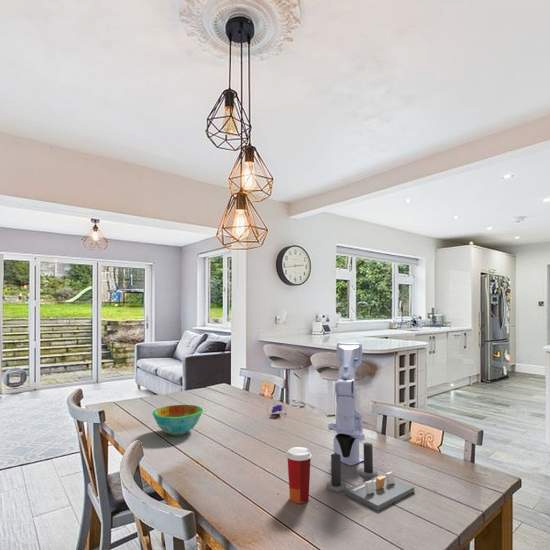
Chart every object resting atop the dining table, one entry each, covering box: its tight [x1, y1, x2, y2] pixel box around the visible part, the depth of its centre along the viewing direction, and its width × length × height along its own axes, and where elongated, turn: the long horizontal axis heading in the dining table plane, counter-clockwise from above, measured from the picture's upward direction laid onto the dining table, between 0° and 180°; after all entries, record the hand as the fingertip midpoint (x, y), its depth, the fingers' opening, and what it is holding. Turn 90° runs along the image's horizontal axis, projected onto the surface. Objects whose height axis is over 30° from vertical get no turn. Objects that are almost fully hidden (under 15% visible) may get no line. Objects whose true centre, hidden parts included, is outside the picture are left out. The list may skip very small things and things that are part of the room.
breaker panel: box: [345, 473, 415, 512], centre depth 120 cm, size 12×18×2 cm, turn 128°
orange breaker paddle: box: [375, 476, 385, 489], centre depth 121 cm, size 1×3×3 cm, turn 128°
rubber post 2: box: [359, 442, 379, 479], centre depth 134 cm, size 6×6×10 cm
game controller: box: [266, 403, 287, 418], centre depth 205 cm, size 10×8×10 cm
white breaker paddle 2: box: [384, 471, 395, 484], centre depth 124 cm, size 1×3×3 cm, turn 128°
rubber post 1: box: [326, 453, 347, 493], centre depth 124 cm, size 6×6×10 cm
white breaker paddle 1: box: [364, 479, 375, 494], centre depth 117 cm, size 1×3×3 cm, turn 128°
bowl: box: [151, 404, 204, 437], centre depth 177 cm, size 22×22×10 cm
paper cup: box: [285, 446, 313, 504], centre depth 118 cm, size 8×8×14 cm
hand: (346, 456), depth 132 cm, fingers closed
